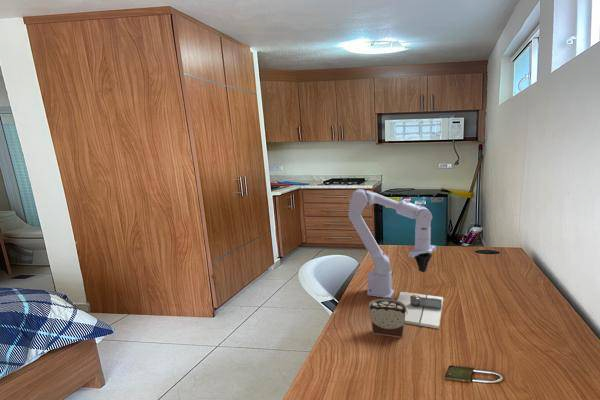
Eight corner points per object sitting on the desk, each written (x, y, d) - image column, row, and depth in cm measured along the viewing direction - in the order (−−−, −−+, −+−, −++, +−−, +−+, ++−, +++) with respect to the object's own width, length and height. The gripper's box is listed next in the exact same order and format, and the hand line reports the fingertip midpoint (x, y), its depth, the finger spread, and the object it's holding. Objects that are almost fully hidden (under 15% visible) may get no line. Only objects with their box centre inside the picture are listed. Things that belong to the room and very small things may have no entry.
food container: (408, 328, 119) (408, 300, 117) (407, 338, 113) (407, 308, 112) (370, 324, 123) (370, 296, 122) (368, 333, 117) (367, 304, 116)
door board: (389, 320, 125) (389, 311, 124) (400, 294, 146) (400, 286, 146) (438, 328, 118) (439, 319, 118) (443, 299, 140) (443, 291, 139)
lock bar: (409, 305, 132) (410, 297, 132) (410, 301, 136) (410, 293, 135) (441, 309, 128) (441, 300, 128) (441, 305, 132) (441, 296, 131)
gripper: (419, 243, 134) (419, 278, 136) (442, 236, 142) (442, 269, 144) (404, 239, 140) (404, 273, 142) (427, 233, 148) (426, 265, 150)
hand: (422, 271), depth 143 cm, fingers closed
